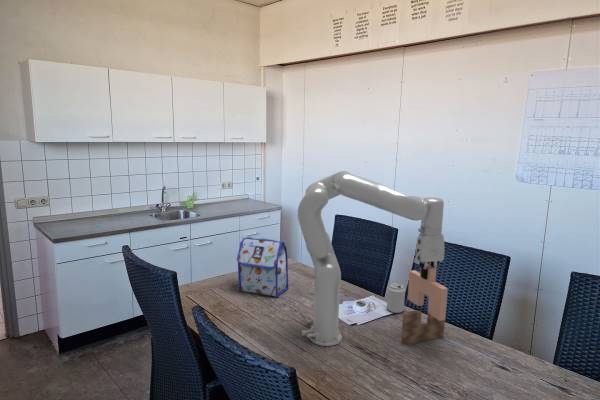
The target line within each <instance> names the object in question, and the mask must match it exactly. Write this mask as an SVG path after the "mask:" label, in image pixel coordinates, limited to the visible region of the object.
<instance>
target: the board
mask: <svg viewBox="0 0 600 400" xmlns="http://www.w3.org/2000/svg"><path fill="white" fill-rule="evenodd" d="M402 312H403V313H402V325H401V326H402V327H401V330H402V331H401V339H400V340H401V343H402V344H403V345H408V344H413V343H419V342H420V343H421V342H424V341H431V340H437V339H440V338H441V339H442V338H444V337H445V335H444V334H445V324H446V323H445V322H446V319H445V320H441V321H439V320H438V319H436V318H435V317H433V316H432V315H430V314H429V313H427V317H426V318H427V321H426V322H425V323H422V322H421V321H422V311H420V310H418V309H417V310H411V311H410V310H409V311H402Z"/></svg>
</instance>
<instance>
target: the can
mask: <svg viewBox="0 0 600 400" xmlns="http://www.w3.org/2000/svg"><path fill="white" fill-rule="evenodd" d="M405 296H406V288H405V286H404V285H403V284H402V283H398V282H397V283H396V282H393V283H390V284H389V286H388V287H387V298H386V299H387V300H386V309H387V310H388V311H389V312H390V311H391V312H390V313H393V314H401V313H402V312H404V310H405V299H406V298H405Z"/></svg>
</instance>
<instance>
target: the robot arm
mask: <svg viewBox="0 0 600 400" xmlns="http://www.w3.org/2000/svg"><path fill="white" fill-rule="evenodd" d="M338 196H342V197H346V198H349V199H352V200H354V201H358V202H360V203H364V204H366V205H370V206H372V207H375V208H377V209H380V210H382V211H386V212H388V213H391V214H394V215H395V216H399V217H402V218H405V219H407V220H410V221H415V222H416V221H420V228H418V232H419V233H418V237H417V240H416V246H415V255H414V256H415V257H414V260H413V263H415V264H417V265H418V266H419V267H420V269H421V277H422V278H424V279H425V280H426V279H427V275H428V269H427V264H428V263H429V265H430V266H432V267H434V268H436V269H437V268H438V265H439V264H440V263H442V262H443V261H444V259H445V237H444V234H443V231H442V230H443V221H444V220H443V219H444V205H445V203H444V200H443V199H442V198H440V197H433V196H430V197H428V196H427V197H420V196H415V195H406V194H403V193H400V192H397V191H396V190H393V189H391V188H390V187H388V186H386V185H384V184H382V183H379V182H375V181H373V180H371V179H367V178H364V177H361V176H358V175H355V174H353V173H351V172H349V171H347V170H342V171H341V170H340V171H337V172H335V173H333V174H332V175H329V176H327V177H326V176H325V177H324V178H322V179H320V180H317V181H315V182H313V183H311V184H310V185H308V187H307V188H306V190H305V194H304V196H303V197H302V199H301V200H300V201H299V205H298V206H297V207H298V208H297V220H298V222H299V223H298V224H299V226H300V229H301V233H302V237H303V240H304V243H305V247H306V250H307V252H308V253H309V255H310V259H311V261H312V264H313V267H314V293H313V294H314V295H313V296H314V297H313V305H314V306H313V309H314V310H313V325H310V328H308V329H303V330H301V333H300V334H301V336H303V337H304V336H306V338H309V340H310V341H311V342H312V343H313V344H315V345H318V346H324V347H331V346H335V345H336V346H337V345H338V344H340V343H341V342H342V340H343V335H342V334H341V332H340V331H339V319H340V318H339V317H340V316H339V314H340V289H341V282H342V281H341V279H342V273H341V268H340V265H339V261H338V259H337V256H336V254H335V250H334V248H333V245H332V241H331V239H330V234H329V233H328V232H327V231H326V228H325V226H324V225H325V224H324V220H323V219H322V218H323V217H322V210H324V208H325V207H326V206H327V204H328V203H329V200H331V199H333V198H335V197H338Z"/></svg>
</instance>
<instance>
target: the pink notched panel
mask: <svg viewBox="0 0 600 400" xmlns="http://www.w3.org/2000/svg"><path fill="white" fill-rule="evenodd" d="M427 269H428V275H427V279H426V280H425V279H424V278H422V277H421V268H420V272H419V271H417V270H415V269H413V270H409V272H408V273H409V274H408V287H407V288H408V289H407V300H408V301H410V302H412V303H413V304H414V305H416V306H417V307H422V306H424V300H425V296H427V298H428V302H427V314H428V313H429V314H430V315H432V316H433V317H435V318H436V319H438V320H439V321H441V320H445V321H446V316H447V315H446V314H447V305H448V304H447V303H448V292H449V291H448V290H449V289H448V287H446V286H445V285H442V284H441V283H439V282H437V281H436V278H437V268H434V267H432V266H430V264H428V263H427Z"/></svg>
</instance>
